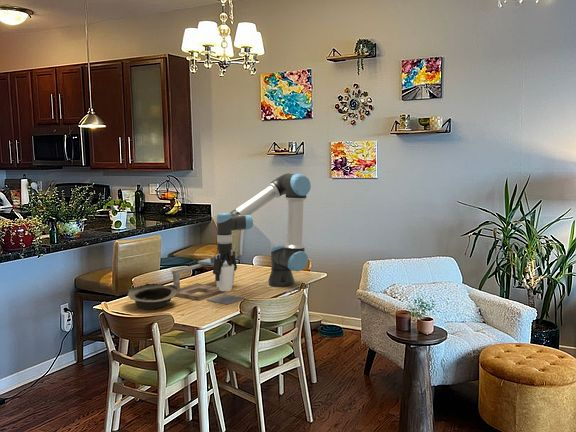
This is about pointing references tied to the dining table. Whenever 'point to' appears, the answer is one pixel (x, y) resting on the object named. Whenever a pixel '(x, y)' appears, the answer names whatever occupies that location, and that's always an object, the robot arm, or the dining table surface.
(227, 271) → the foam cup
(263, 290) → the dining table surface
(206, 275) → the dining table surface
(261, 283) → the dining table surface
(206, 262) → the cover
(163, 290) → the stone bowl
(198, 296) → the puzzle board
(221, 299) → the rubber mat
